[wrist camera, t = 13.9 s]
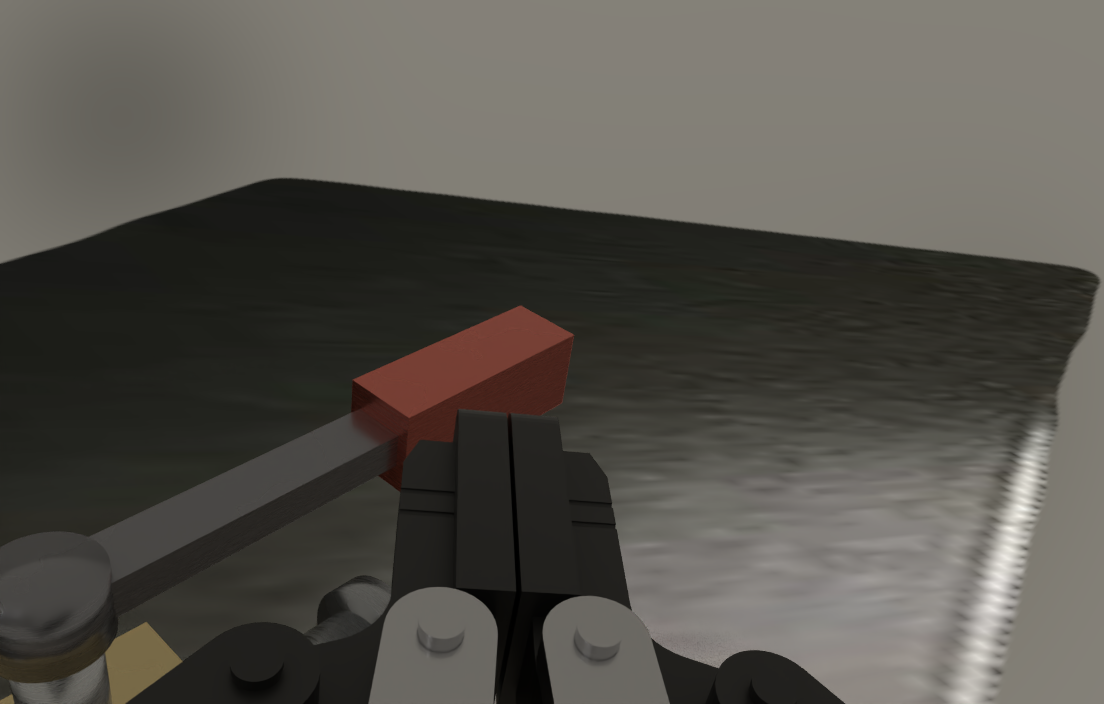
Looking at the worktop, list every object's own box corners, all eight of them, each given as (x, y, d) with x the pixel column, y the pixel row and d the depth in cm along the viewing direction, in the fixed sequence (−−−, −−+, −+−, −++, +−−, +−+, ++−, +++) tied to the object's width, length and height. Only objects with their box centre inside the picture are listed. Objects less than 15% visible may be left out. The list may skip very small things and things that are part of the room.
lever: (22, 719, 23) (3, 630, 21) (-37, 644, 24) (-60, 555, 22) (565, 405, 37) (578, 337, 35) (507, 370, 38) (516, 303, 36)
